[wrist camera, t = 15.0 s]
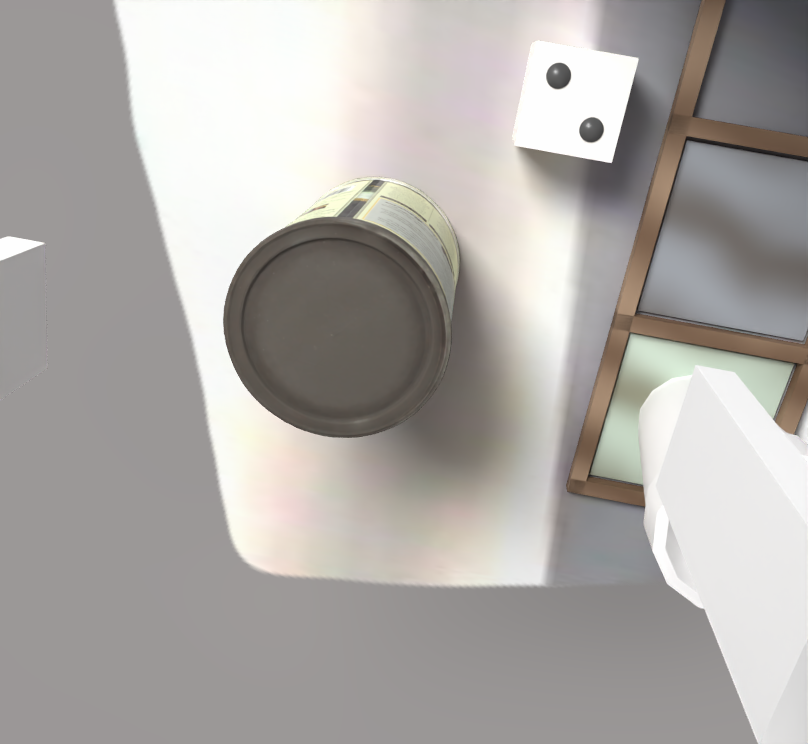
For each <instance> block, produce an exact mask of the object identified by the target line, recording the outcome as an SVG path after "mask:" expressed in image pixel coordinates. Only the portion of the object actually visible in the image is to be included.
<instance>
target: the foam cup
mask: <svg viewBox="0 0 808 744" xmlns="http://www.w3.org/2000/svg"><path fill="white" fill-rule="evenodd" d="M691 377H692V375H688V376H683V377H677V378H672V379H670V380H668V381H667V382H665V383H664V384H662V385H661V386H659V387H657V388H656V389H654V390H653V391H652V392H651V393H650V395H649V396H648V398H647V399H646V401H645V402H644V404H643V405H642V407H641V408H640V413H639V423H638V439H639V448H640V458H641V467H642V477H643V487H644V496H645V506H646V507H645V515H644V527H645V530H646V533H647V536H648V539H649V542H650V545H651V548H652V551H653V553H654V555H655V557H656V560H657V562H658V564H659V566H660V569H661V571H662V573H663V575H664V578H665V580H666V582H667V584H668V585H670V586H671V587H672V588H673V589H675V590H676V591H677V592H679V593H680V594H681V595H683V596H684V597H685V598H687V599H688V600H689V601H691V602H692V603H693V604H694V605H696V606H697V607H699V608H703V609H704V607H703V604H702V602H701V599H700V597H699V594H698V592H697V589H696V587H695V584H694V582H693V579H692V577H691V574H690V572H689V569H688V567H687V564H686V562H685V559H684V557H683V554H682V551H681V549H680V546H679V544H678V541H677V539H676V536H675V534H674V531H673V529H672V526H671V524H670V521H669V519H668V516H667V514H666V511H665V509H664V506H663V504H662V501H661V499H660V496H659V494H658V491H657V489H656V483H657V480H658V477H659V474H660V471H661V468H662V465H663V462H664V459H665V456H666V453H667V450H668V447H669V444H670V441H671V438H672V435H673V432H674V428H675V425H676V422H677V419H678V416H679V413H680V410H681V407H682V404H683V401H684V398H685V395H686V392H687V389H688V386H689V383H690V380H691ZM779 428H780V427H779ZM780 429H781V428H780ZM781 430H782V431H783V432H784V434H785V435H786V436H787V437H788V439H789V440H790V441H791V442H792V444H793V445H794V446H795V447H796V449H797V450H798V451H799V452H800V453H801V455H802V456H803V457H804V458H805V460H806V461H807V462H808V444H807V443H806V442H804V441H803V440H802V439H801V438H800V437H798V436H797V435H793V434H789V433H787V432H785V431H784V430H783V429H781Z"/></svg>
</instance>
